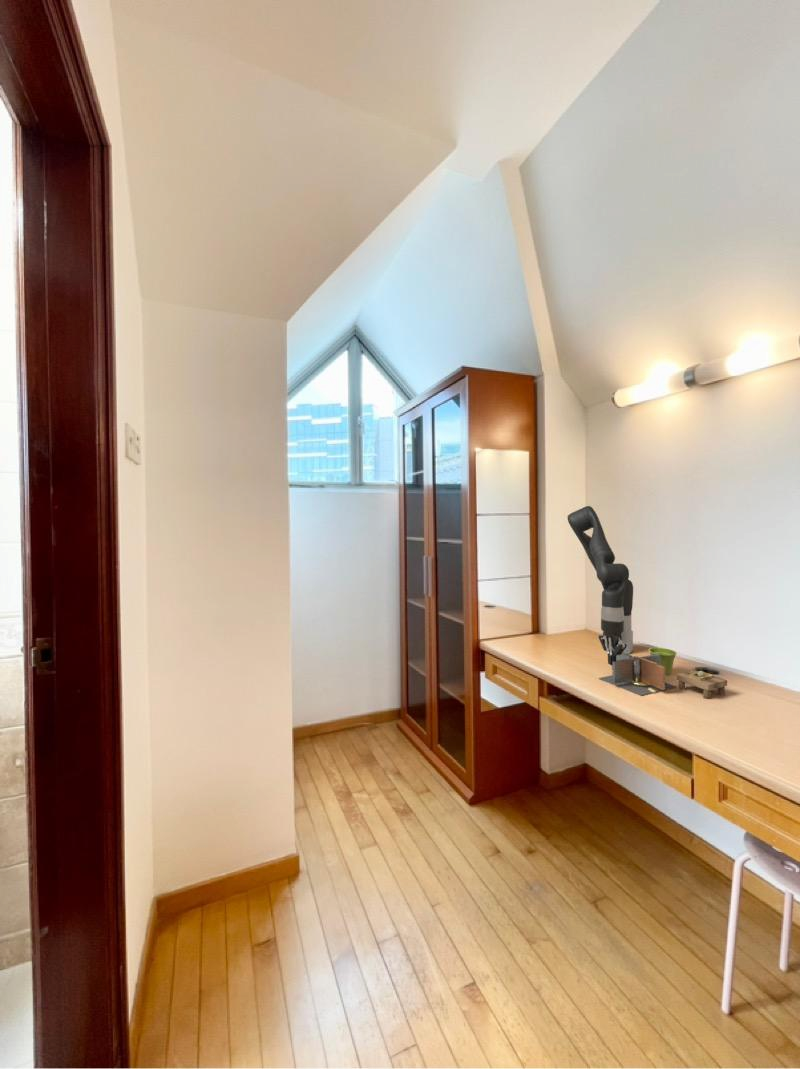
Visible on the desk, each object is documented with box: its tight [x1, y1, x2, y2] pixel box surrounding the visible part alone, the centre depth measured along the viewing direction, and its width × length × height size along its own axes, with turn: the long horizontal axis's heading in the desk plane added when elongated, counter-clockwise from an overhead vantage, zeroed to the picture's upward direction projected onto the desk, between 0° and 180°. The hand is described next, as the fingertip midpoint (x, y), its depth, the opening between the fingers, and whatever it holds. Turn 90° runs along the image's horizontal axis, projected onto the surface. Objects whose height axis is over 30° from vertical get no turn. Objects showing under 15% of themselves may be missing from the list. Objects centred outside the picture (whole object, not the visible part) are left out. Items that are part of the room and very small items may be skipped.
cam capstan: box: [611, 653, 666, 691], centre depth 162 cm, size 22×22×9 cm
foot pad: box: [598, 674, 678, 697], centre depth 161 cm, size 18×19×1 cm
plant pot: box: [648, 647, 678, 676], centre depth 171 cm, size 9×9×9 cm
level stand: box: [675, 670, 728, 700], centre depth 153 cm, size 10×11×7 cm
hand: (612, 664), depth 161 cm, fingers closed
